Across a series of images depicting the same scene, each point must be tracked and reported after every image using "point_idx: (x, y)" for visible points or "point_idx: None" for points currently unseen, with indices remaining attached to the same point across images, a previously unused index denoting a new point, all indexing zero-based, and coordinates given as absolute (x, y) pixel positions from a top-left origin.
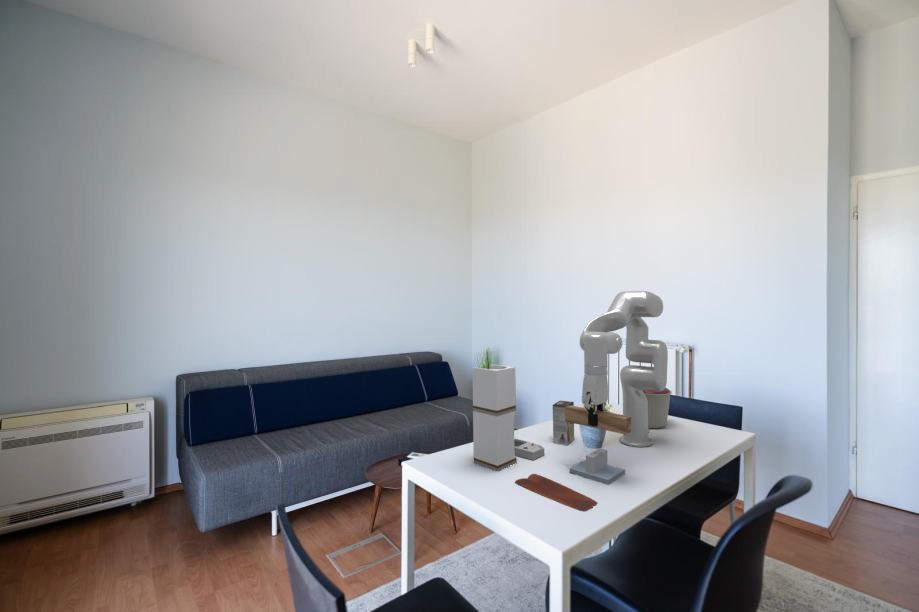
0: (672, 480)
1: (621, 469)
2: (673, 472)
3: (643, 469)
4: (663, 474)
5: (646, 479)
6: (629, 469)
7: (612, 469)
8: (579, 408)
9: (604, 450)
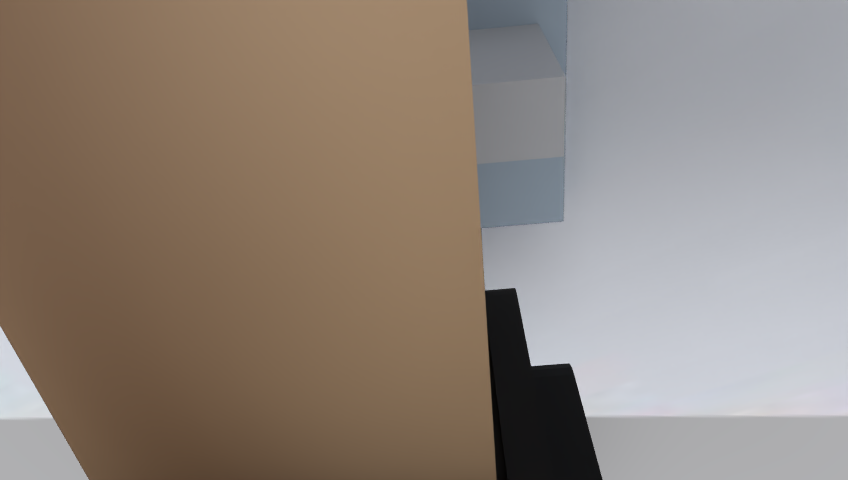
0: (655, 408)
1: (542, 206)
2: (795, 371)
3: (734, 244)
4: (721, 351)
5: (564, 325)
6: (668, 182)
7: (489, 163)
8: (184, 117)
9: (522, 148)
